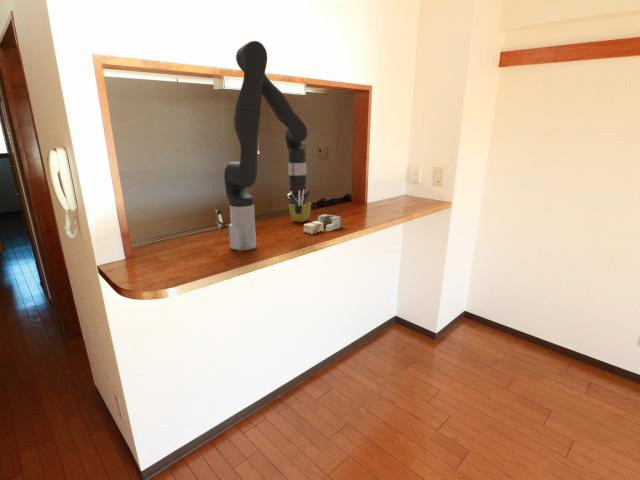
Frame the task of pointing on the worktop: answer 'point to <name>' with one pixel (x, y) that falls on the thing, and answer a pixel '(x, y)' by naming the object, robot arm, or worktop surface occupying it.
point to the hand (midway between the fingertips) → (298, 213)
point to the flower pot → (304, 215)
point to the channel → (330, 221)
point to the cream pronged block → (313, 227)
